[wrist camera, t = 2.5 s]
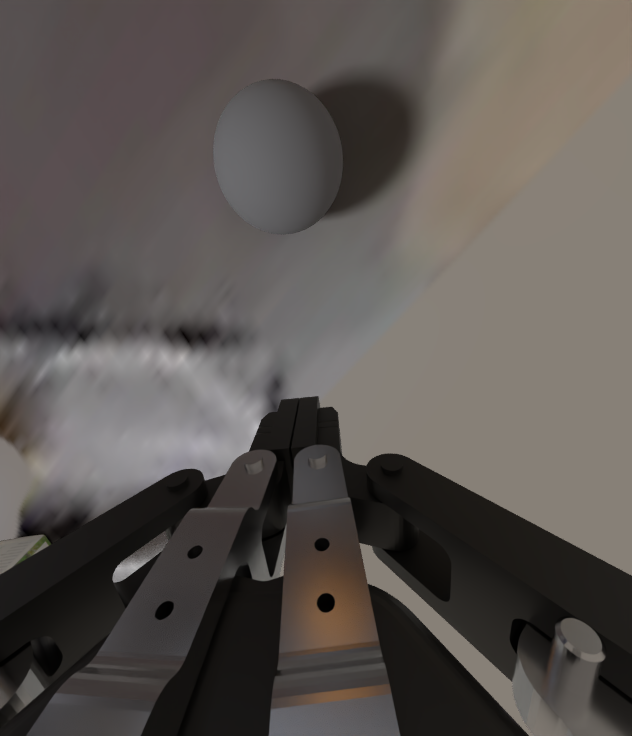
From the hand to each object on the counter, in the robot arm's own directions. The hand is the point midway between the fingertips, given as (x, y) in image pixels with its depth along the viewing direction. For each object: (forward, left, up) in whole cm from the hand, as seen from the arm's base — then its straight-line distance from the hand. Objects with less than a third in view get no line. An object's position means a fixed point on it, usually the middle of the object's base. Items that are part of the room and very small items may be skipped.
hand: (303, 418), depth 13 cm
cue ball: (-9, +4, -6) cm, 12 cm away
